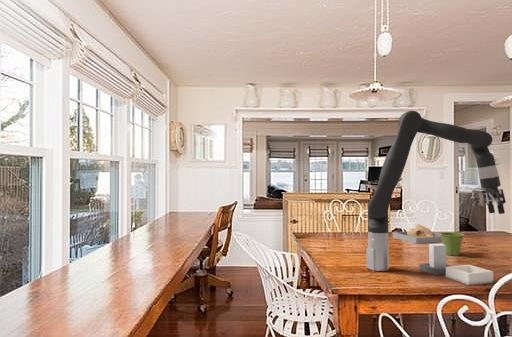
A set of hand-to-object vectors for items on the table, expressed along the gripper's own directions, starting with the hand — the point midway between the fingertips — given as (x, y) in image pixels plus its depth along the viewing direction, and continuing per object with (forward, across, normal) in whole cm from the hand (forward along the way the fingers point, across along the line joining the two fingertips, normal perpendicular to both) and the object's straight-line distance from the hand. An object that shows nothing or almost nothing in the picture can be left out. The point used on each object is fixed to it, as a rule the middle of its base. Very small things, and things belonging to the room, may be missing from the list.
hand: (496, 213), depth 177 cm
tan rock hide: (+19, -90, -9) cm, 93 cm away
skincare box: (+22, -7, -28) cm, 36 cm away
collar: (+22, -7, -28) cm, 36 cm away
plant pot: (+23, -44, -7) cm, 50 cm away
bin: (+24, +7, -20) cm, 32 cm away
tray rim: (+19, -91, -9) cm, 93 cm away
